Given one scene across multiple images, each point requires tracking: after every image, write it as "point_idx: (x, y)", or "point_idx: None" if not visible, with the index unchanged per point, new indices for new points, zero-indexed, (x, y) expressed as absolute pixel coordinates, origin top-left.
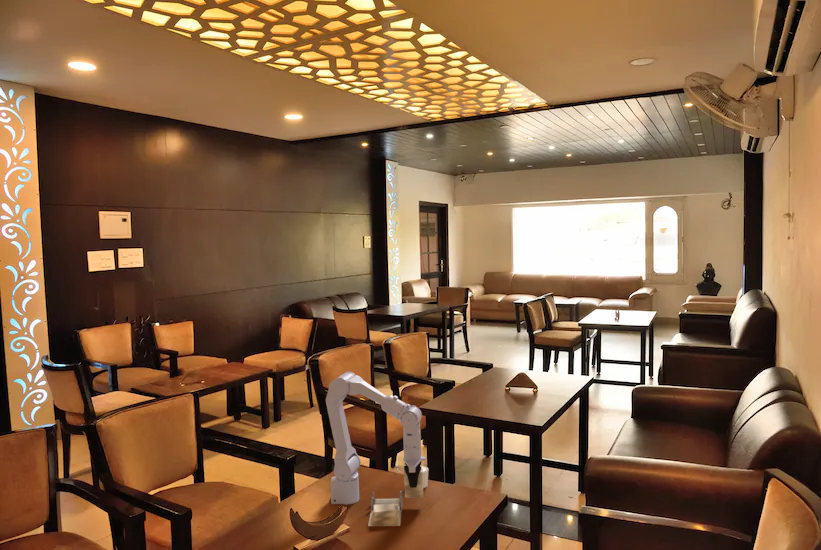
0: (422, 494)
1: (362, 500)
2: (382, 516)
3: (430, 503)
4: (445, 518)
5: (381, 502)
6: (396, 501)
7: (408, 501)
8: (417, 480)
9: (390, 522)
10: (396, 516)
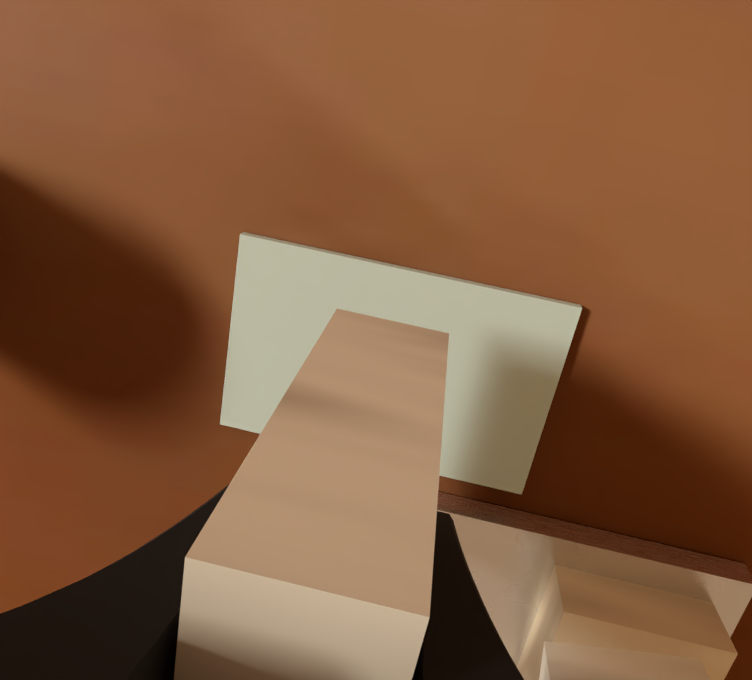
0: (444, 358)
1: None
2: None
3: (296, 166)
4: (724, 55)
5: None
6: None
7: (215, 387)
8: (480, 601)
9: None
10: (707, 652)
